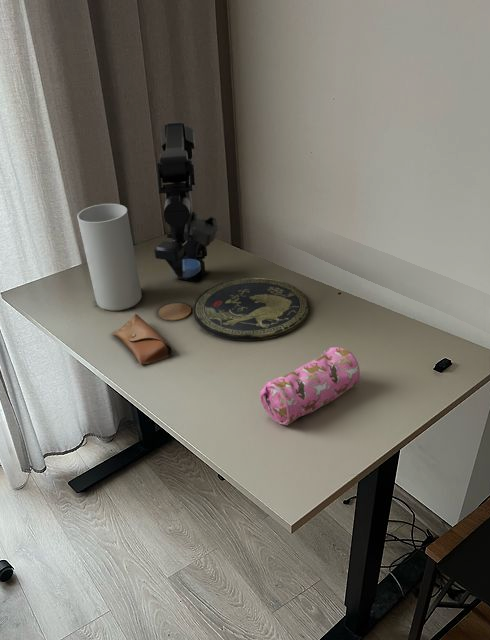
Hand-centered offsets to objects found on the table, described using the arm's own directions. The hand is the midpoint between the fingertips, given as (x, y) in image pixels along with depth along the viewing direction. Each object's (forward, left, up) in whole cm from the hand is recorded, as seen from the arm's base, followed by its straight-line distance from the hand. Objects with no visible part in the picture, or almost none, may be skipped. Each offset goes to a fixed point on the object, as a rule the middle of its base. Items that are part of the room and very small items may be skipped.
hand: (186, 270), depth 151 cm
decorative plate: (+14, +6, -12) cm, 20 cm away
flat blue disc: (0, 0, -1) cm, 1 cm away
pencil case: (+41, -25, -12) cm, 50 cm away
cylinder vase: (-22, 0, -12) cm, 25 cm away
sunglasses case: (-5, -18, -12) cm, 22 cm away
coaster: (-4, -1, -12) cm, 13 cm away
